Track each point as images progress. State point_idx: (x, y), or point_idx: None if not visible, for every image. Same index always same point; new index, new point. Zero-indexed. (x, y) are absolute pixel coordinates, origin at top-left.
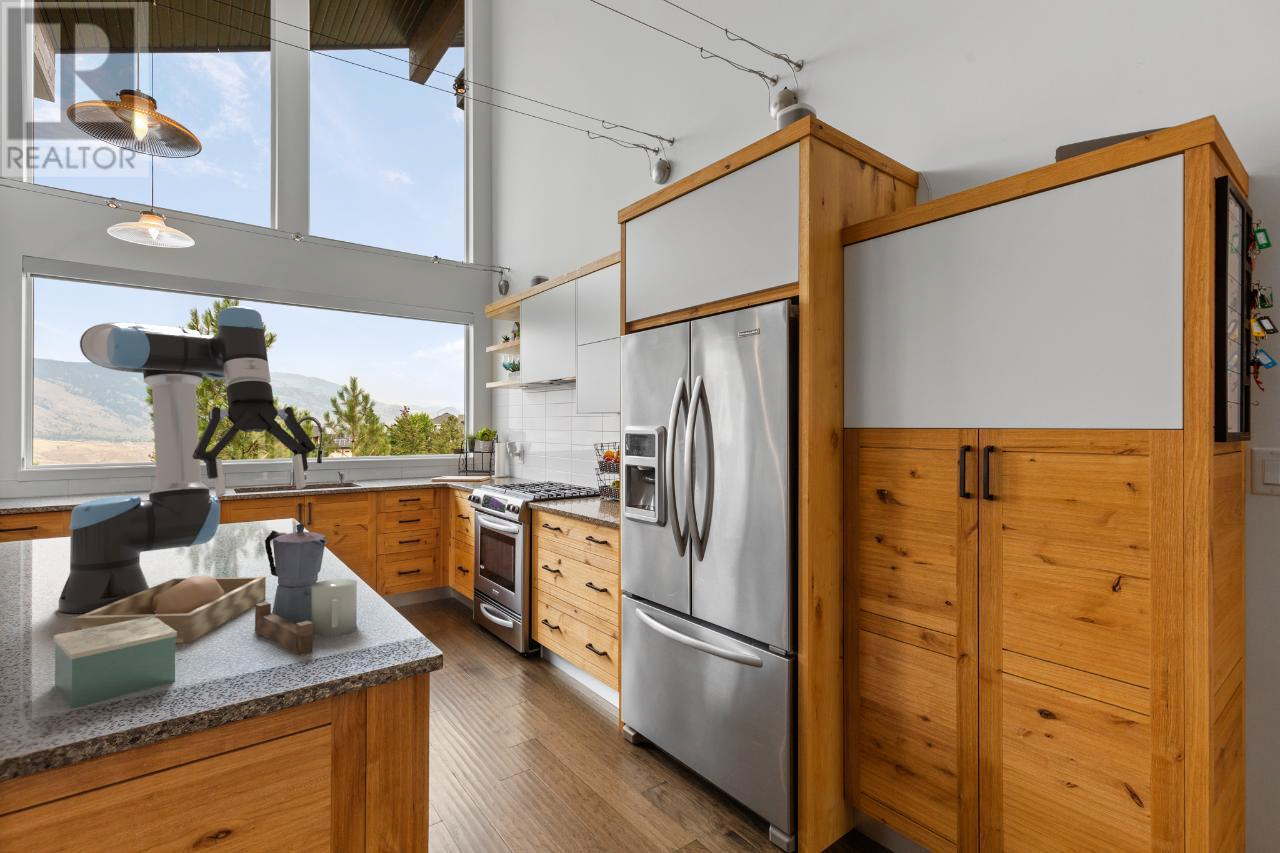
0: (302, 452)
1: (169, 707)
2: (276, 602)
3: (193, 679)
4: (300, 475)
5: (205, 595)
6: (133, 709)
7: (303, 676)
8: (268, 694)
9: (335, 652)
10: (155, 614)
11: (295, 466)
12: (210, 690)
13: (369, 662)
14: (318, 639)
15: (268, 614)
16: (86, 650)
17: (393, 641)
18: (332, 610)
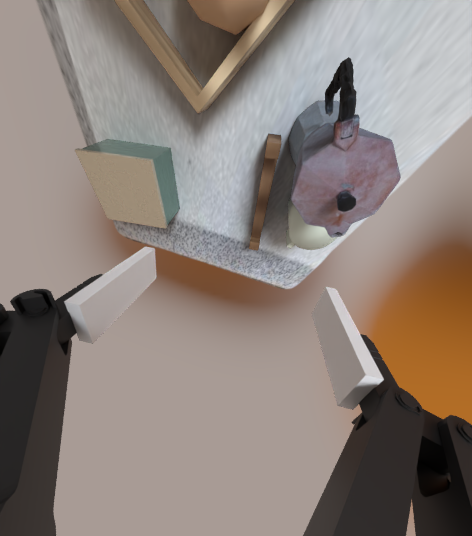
0: (355, 419)
1: (173, 240)
2: (294, 143)
3: (189, 215)
4: (318, 336)
5: (232, 26)
6: (158, 228)
7: (233, 260)
8: (212, 263)
9: (267, 247)
10: (162, 50)
11: (339, 348)
12: (192, 238)
13: (266, 272)
14: (281, 216)
15: (271, 162)
16: (115, 218)
17: (302, 262)
18: (286, 241)
